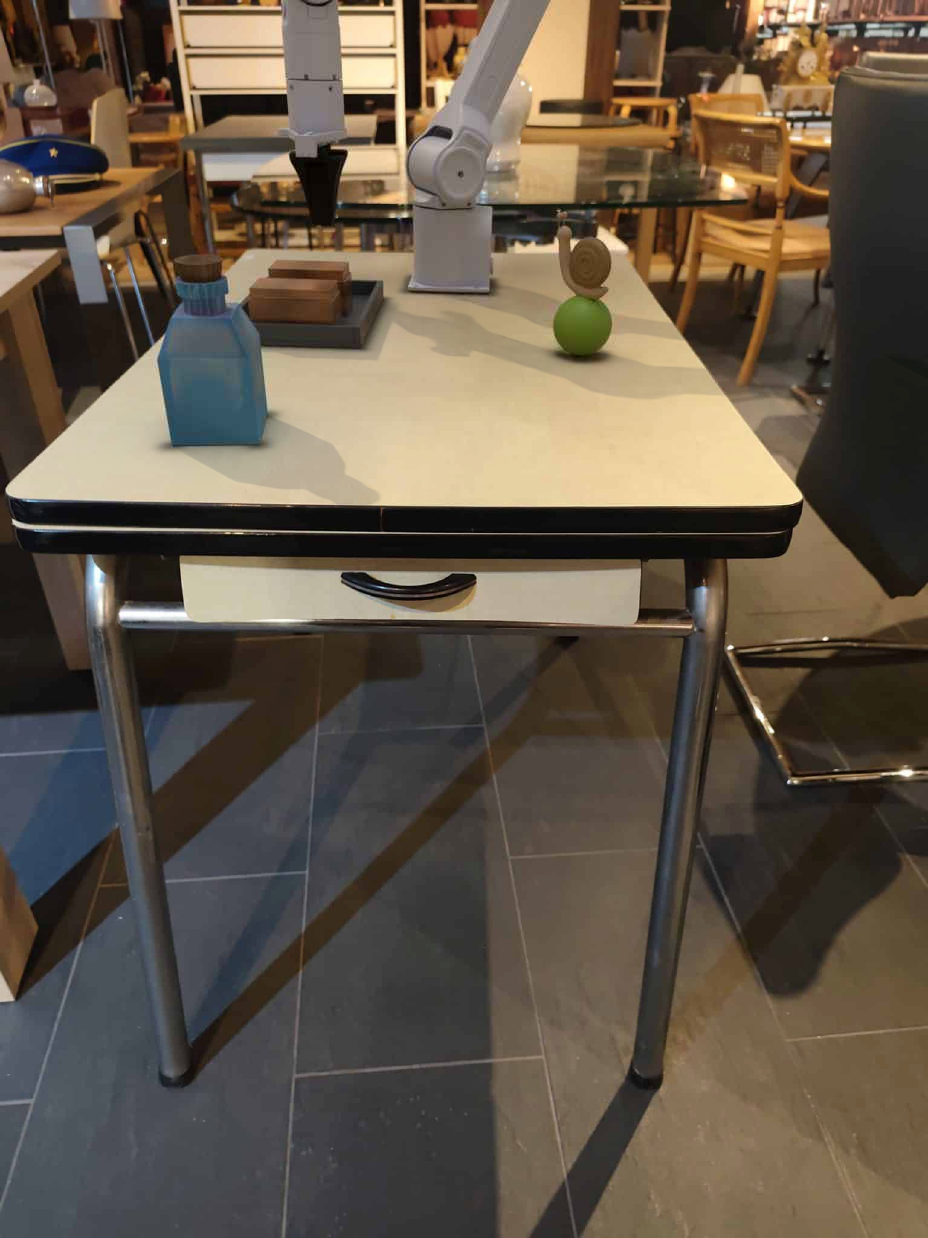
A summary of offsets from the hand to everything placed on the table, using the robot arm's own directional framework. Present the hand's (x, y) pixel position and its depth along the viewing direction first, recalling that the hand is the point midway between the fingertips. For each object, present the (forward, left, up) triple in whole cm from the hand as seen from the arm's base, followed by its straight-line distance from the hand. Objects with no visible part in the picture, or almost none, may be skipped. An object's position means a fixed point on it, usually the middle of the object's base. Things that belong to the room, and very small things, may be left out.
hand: (323, 224), depth 97 cm
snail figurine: (-27, +20, -8) cm, 34 cm away
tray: (0, +11, -7) cm, 13 cm away
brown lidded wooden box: (0, +9, -7) cm, 11 cm away
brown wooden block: (0, +17, -7) cm, 19 cm away
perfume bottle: (+1, +42, -8) cm, 43 cm away
